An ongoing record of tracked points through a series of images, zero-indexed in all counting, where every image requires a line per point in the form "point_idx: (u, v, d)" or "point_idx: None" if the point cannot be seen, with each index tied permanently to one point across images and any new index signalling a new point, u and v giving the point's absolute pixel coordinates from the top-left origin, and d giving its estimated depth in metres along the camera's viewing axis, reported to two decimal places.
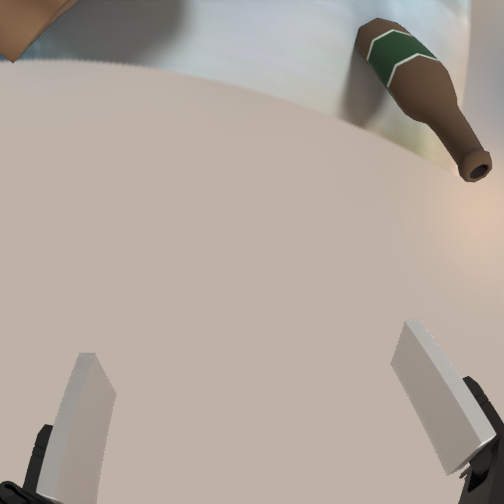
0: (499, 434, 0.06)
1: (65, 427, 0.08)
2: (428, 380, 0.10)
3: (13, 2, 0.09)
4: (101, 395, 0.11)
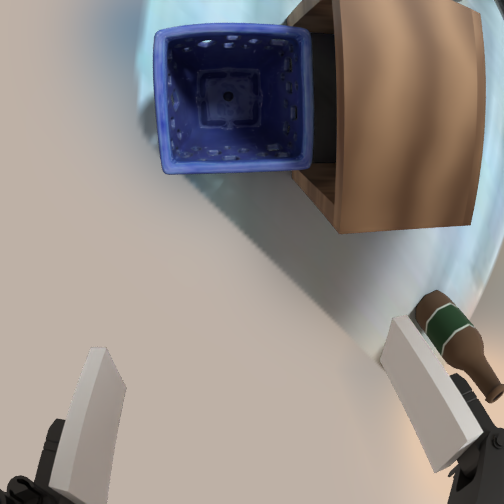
0: (487, 432, 0.07)
1: (78, 420, 0.08)
2: (415, 377, 0.10)
3: (389, 190, 0.22)
4: (112, 389, 0.11)
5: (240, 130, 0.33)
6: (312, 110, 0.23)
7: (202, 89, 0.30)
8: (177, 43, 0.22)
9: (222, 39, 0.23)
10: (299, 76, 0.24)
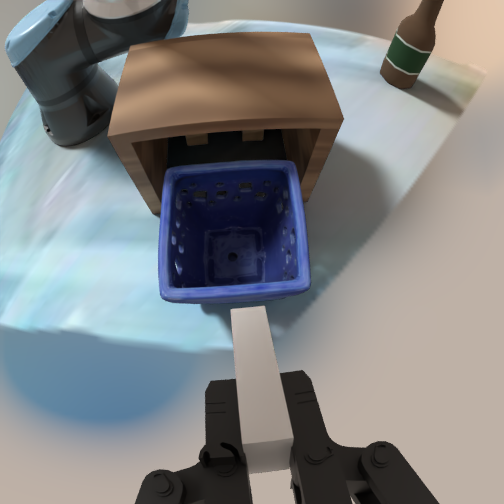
0: None
1: (251, 373, 0.10)
2: None
3: (298, 87, 0.25)
4: None
5: (266, 244, 0.37)
6: (241, 161, 0.29)
7: (225, 281, 0.35)
8: None
9: (175, 248, 0.30)
10: (210, 179, 0.31)
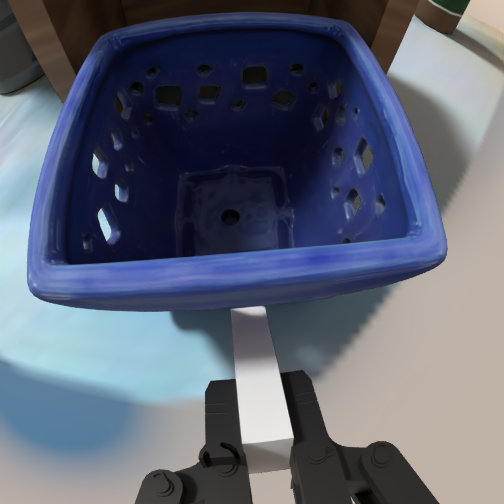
0: None
1: (251, 373, 0.10)
2: None
3: None
4: None
5: (294, 193, 0.19)
6: (248, 12, 0.11)
7: None
8: None
9: (102, 185, 0.12)
10: (187, 56, 0.13)
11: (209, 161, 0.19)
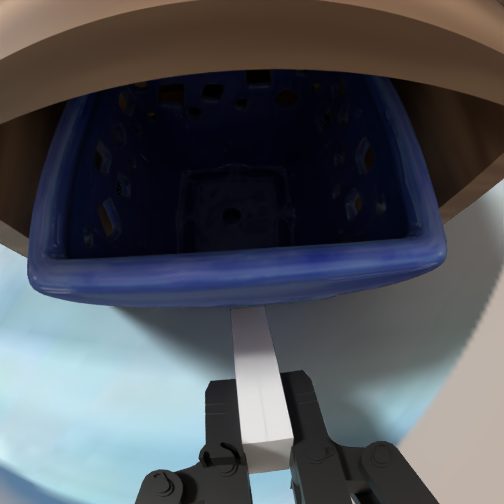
0: None
1: (251, 373, 0.10)
2: None
3: None
4: None
5: (295, 193, 0.19)
6: None
7: None
8: None
9: (104, 181, 0.12)
10: None
11: (211, 159, 0.19)
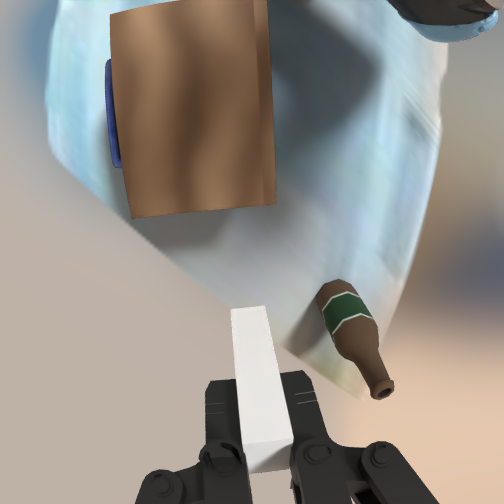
0: None
1: (251, 373, 0.10)
2: None
3: (165, 180, 0.28)
4: None
5: None
6: None
7: None
8: None
9: None
10: None
11: None
